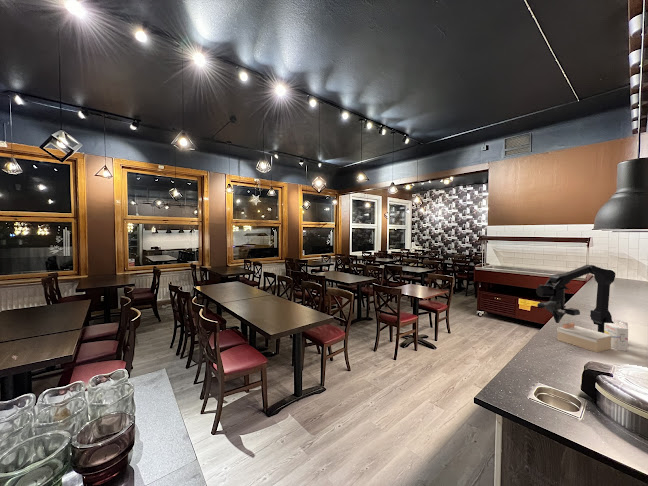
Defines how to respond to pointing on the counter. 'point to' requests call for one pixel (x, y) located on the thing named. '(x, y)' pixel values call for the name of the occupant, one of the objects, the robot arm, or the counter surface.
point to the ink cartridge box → (617, 334)
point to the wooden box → (586, 342)
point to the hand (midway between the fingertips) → (557, 322)
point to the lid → (582, 332)
